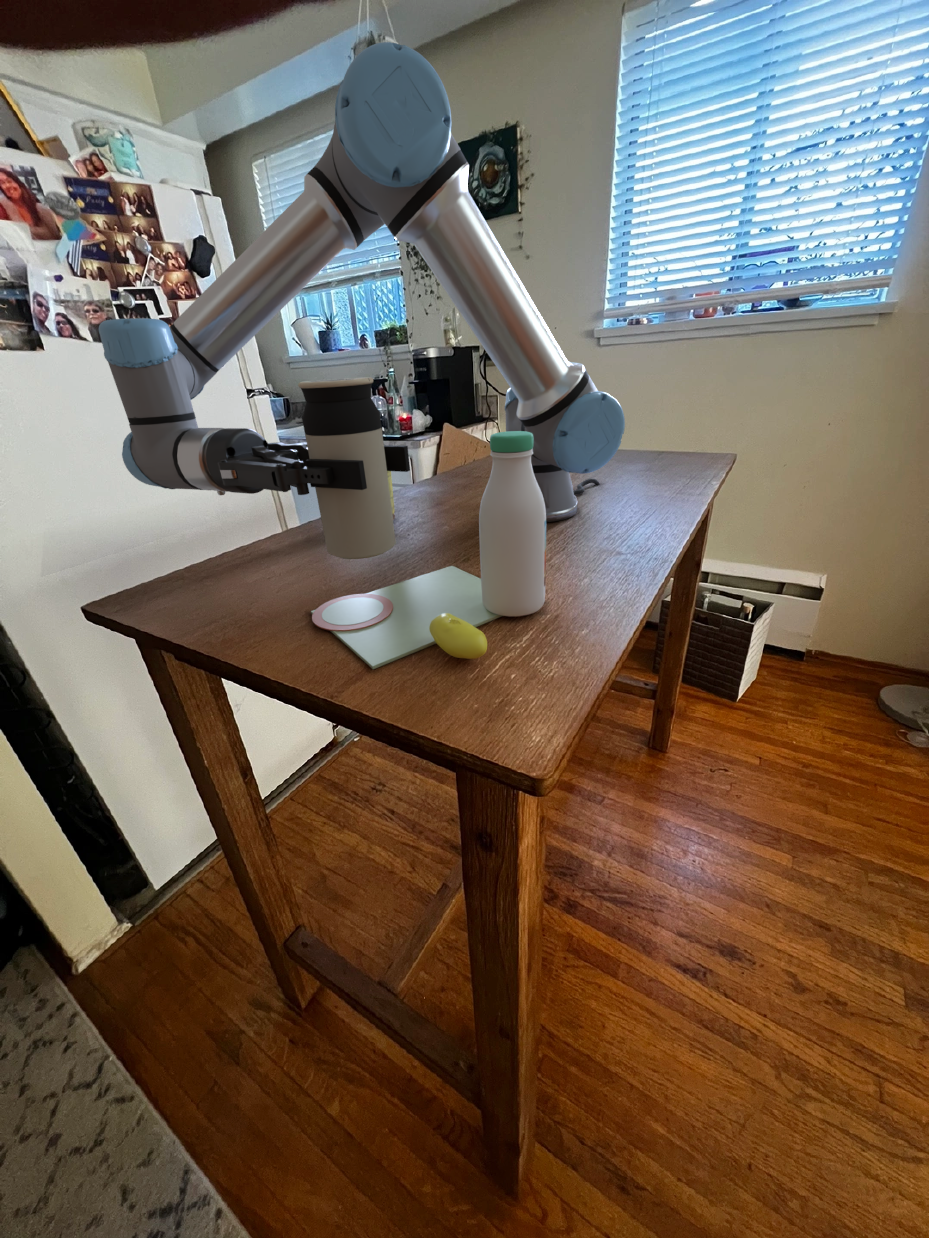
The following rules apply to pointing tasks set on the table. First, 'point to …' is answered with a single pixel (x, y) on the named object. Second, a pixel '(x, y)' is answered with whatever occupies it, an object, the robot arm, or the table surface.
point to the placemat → (402, 614)
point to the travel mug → (350, 431)
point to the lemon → (458, 637)
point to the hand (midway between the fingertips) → (386, 466)
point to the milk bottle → (512, 529)
